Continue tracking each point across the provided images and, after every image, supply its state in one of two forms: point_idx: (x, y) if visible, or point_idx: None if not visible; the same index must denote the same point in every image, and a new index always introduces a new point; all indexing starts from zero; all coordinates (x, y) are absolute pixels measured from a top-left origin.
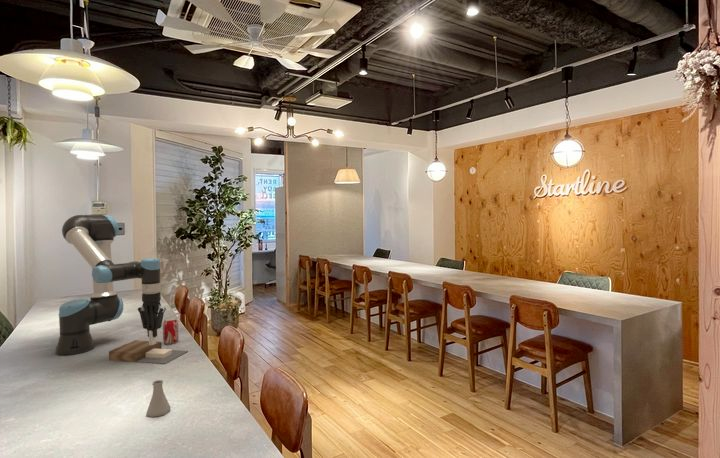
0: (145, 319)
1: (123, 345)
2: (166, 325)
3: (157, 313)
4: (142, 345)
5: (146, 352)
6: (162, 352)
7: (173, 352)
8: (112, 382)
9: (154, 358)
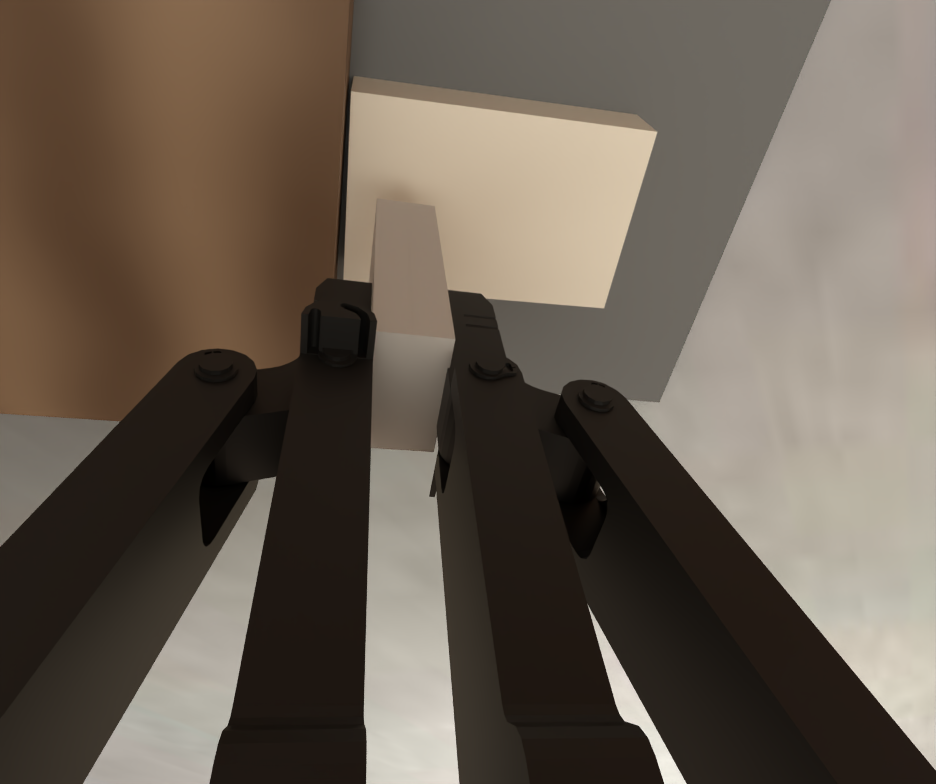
0: (149, 607)
1: None
2: None
3: (637, 764)
4: (142, 132)
5: (347, 271)
6: (568, 260)
7: (639, 55)
8: (424, 658)
9: None
